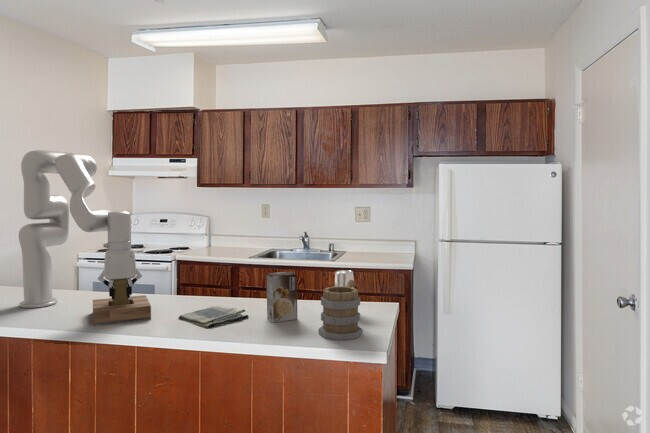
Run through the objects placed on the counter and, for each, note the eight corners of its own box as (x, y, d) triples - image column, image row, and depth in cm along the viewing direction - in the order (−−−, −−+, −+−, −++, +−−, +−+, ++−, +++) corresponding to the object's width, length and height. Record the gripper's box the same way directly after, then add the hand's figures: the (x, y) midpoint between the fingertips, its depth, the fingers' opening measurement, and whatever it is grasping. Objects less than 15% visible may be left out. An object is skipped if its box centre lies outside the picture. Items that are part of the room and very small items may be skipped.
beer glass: (356, 311, 177) (356, 270, 176) (349, 315, 170) (349, 273, 170) (339, 309, 180) (339, 269, 179) (331, 313, 173) (331, 272, 173)
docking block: (93, 312, 173) (92, 299, 172) (145, 307, 181) (145, 295, 180) (93, 325, 157) (92, 311, 156) (151, 319, 164) (150, 305, 164)
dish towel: (176, 320, 165) (176, 311, 165) (219, 310, 179) (219, 302, 179) (208, 330, 153) (208, 321, 153) (251, 319, 167) (251, 310, 167)
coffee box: (290, 315, 170) (290, 270, 169) (297, 319, 165) (297, 273, 164) (266, 318, 166) (266, 272, 165) (272, 323, 160) (272, 275, 160)
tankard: (352, 342, 141) (353, 292, 140) (313, 337, 145) (313, 288, 145) (372, 324, 159) (373, 280, 158) (337, 320, 164) (337, 277, 163)
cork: (123, 310, 165) (122, 279, 164) (107, 309, 166) (107, 278, 165) (133, 306, 171) (133, 276, 170) (118, 305, 172) (118, 275, 171)
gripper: (92, 248, 160) (94, 302, 161) (146, 246, 168) (147, 297, 169) (92, 246, 167) (94, 297, 168) (144, 244, 174) (145, 293, 175)
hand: (120, 297), depth 168 cm, fingers closed on cork, 4 cm apart
